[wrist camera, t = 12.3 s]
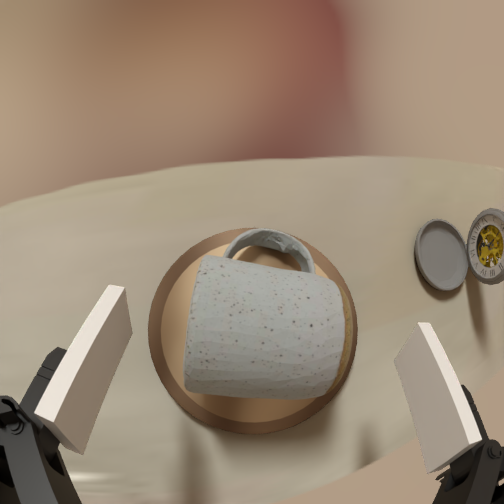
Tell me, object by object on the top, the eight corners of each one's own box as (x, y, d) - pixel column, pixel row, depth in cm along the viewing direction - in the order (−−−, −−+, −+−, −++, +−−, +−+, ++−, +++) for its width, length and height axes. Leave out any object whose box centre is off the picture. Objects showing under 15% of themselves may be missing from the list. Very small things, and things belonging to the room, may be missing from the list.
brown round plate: (141, 410, 19) (136, 414, 17) (171, 220, 22) (168, 214, 21) (337, 433, 19) (342, 437, 18) (358, 247, 23) (364, 243, 22)
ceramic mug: (312, 388, 19) (355, 414, 11) (193, 378, 18) (170, 404, 11) (322, 242, 22) (363, 197, 14) (211, 230, 21) (202, 176, 14)
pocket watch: (399, 243, 23) (474, 196, 14) (447, 204, 25) (511, 158, 15) (442, 320, 22) (526, 307, 12) (484, 271, 23) (555, 245, 14)
